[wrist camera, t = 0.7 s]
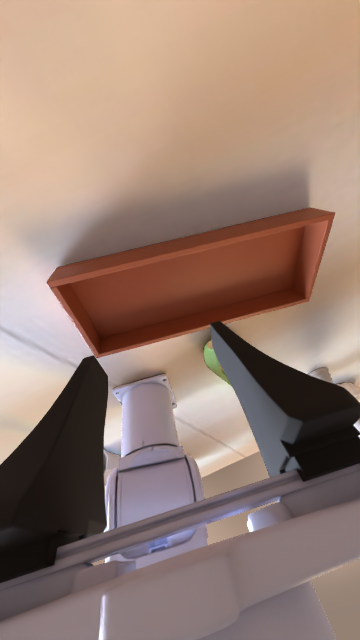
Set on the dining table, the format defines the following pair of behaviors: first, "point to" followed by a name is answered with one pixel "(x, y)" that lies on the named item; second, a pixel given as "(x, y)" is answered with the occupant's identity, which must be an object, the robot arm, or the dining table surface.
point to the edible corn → (214, 362)
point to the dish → (193, 281)
